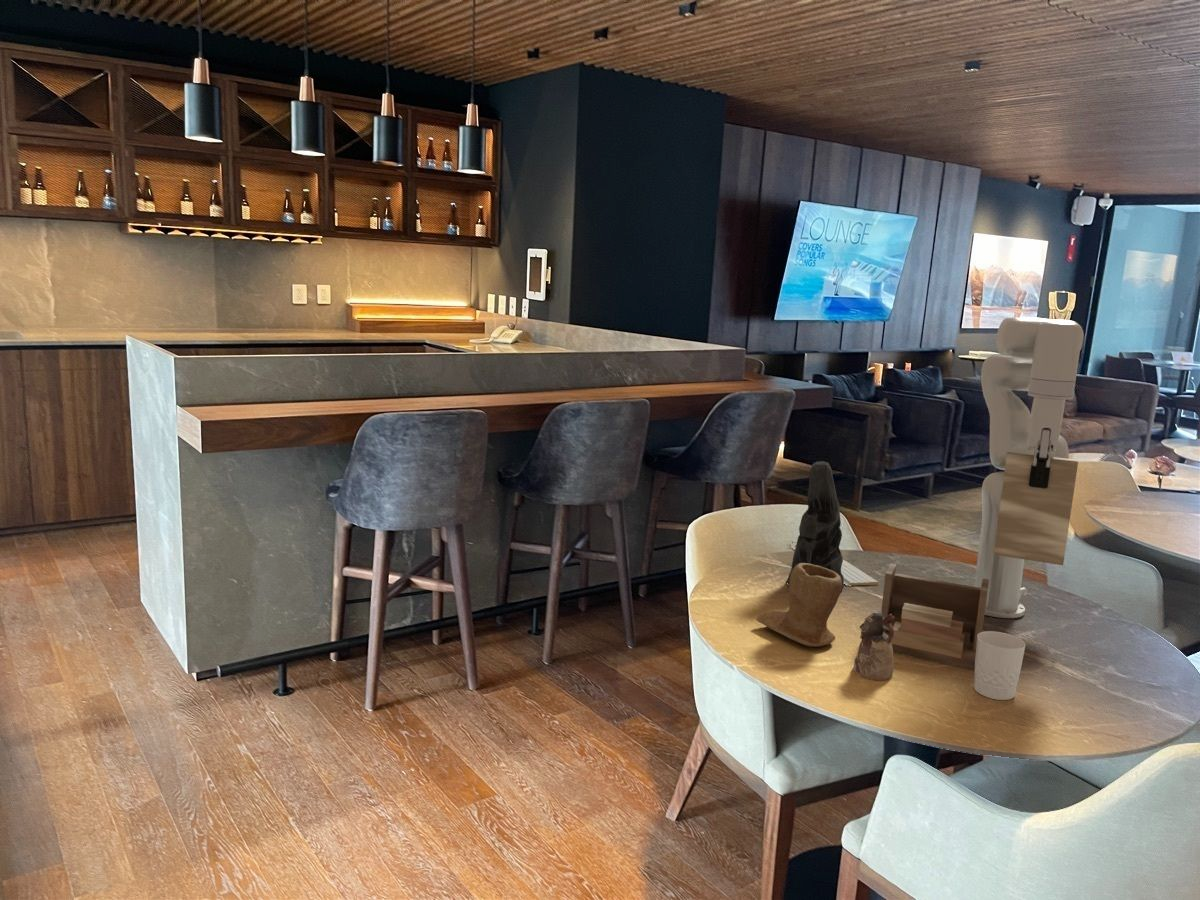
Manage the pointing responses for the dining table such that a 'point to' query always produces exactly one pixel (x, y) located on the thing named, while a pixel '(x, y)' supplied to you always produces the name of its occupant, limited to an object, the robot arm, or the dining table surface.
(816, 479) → the dark tapered sculpture
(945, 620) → the offcut bundle
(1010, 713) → the dining table surface
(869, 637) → the figurine
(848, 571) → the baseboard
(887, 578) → the walnut rack
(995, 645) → the white cup
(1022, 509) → the birch sheet
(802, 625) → the clay boot figure
